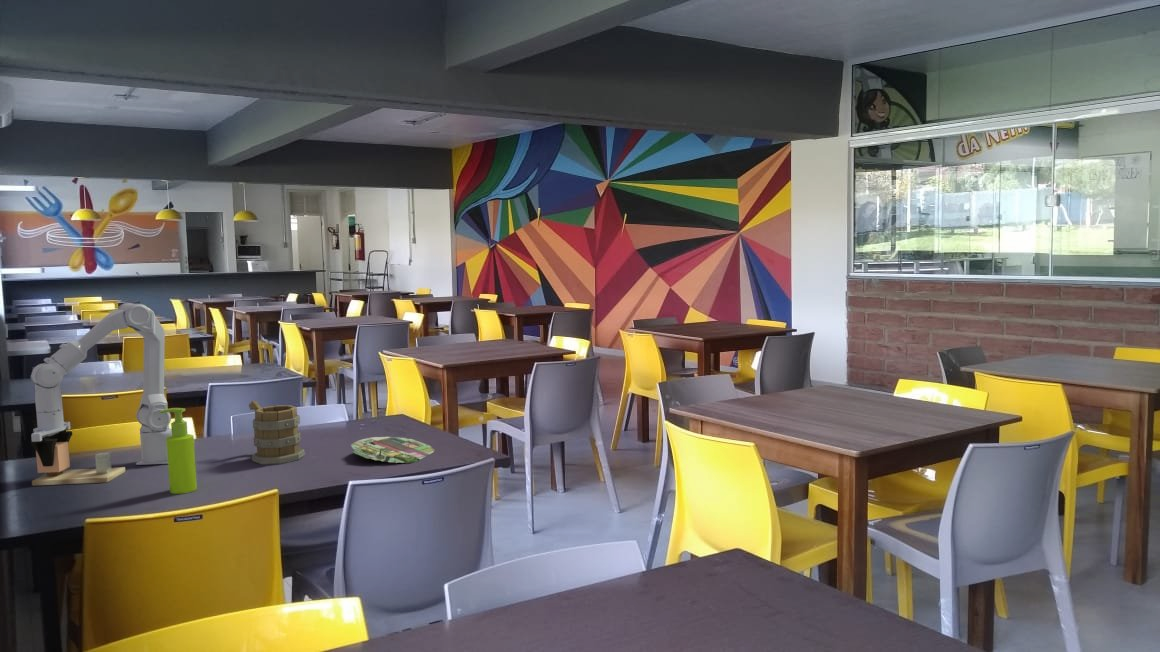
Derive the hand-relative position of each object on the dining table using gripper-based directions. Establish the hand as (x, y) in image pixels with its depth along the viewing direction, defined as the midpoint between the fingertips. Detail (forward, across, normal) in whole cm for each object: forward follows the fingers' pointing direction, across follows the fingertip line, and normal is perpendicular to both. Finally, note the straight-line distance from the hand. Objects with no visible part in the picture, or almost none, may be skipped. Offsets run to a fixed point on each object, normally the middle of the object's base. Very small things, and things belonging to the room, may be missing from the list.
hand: (54, 463), depth 213 cm
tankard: (+5, -15, +50) cm, 52 cm away
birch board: (+4, 0, +6) cm, 7 cm away
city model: (+5, -10, +84) cm, 85 cm away
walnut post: (+3, 0, 0) cm, 3 cm away
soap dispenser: (+4, +16, +37) cm, 41 cm away
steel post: (+3, 0, +12) cm, 12 cm away
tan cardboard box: (+2, 0, 0) cm, 2 cm away
